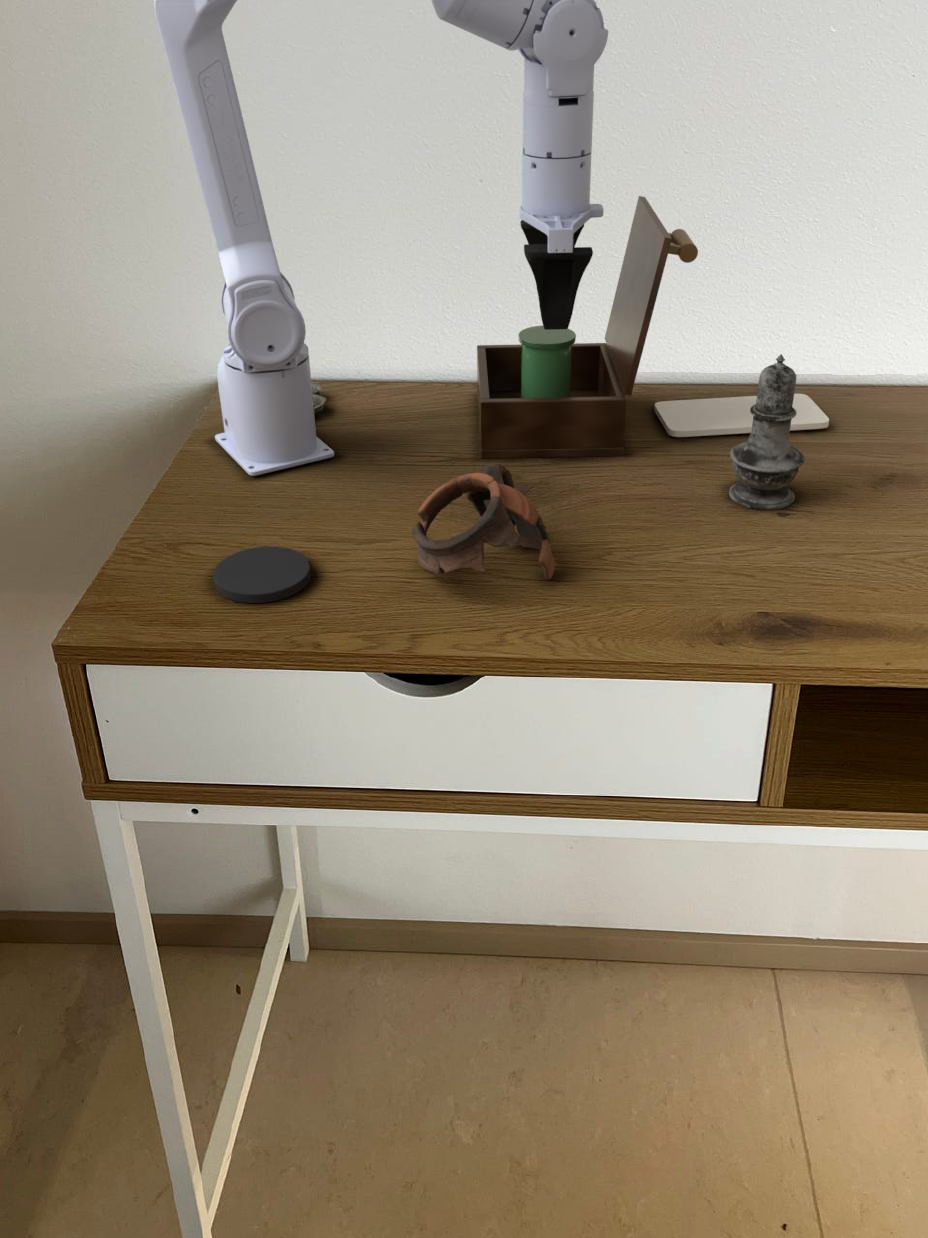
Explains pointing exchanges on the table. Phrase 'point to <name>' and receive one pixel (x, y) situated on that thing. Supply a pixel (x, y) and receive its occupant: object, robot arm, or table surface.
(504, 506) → the broken clay pot rim
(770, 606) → the table surface
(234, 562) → the disc
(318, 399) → the corroded twin loop
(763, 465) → the salt shaker
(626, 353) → the lid
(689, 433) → the smartphone
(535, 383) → the green pot
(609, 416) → the box
